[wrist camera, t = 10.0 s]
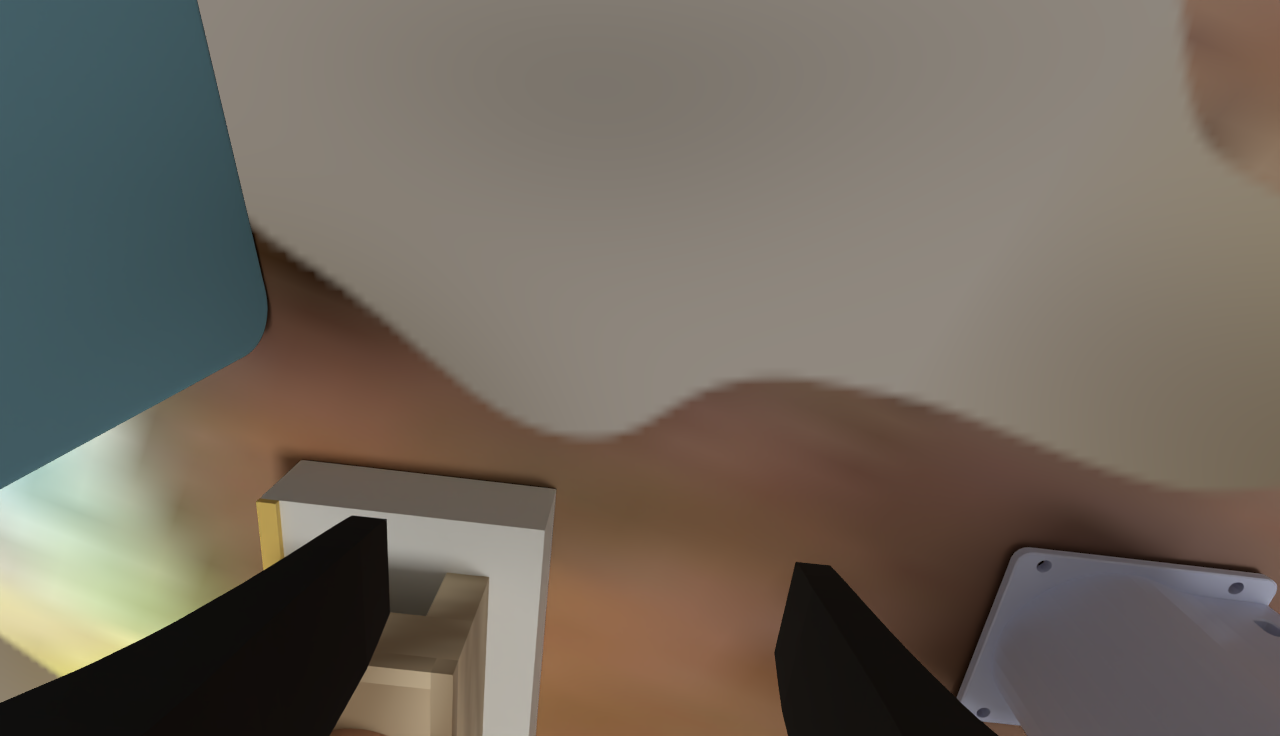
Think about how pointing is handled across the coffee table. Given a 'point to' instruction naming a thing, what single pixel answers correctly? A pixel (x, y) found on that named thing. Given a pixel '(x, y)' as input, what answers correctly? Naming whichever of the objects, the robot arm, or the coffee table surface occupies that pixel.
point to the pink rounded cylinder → (354, 732)
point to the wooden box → (428, 668)
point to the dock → (440, 557)
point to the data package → (113, 221)
